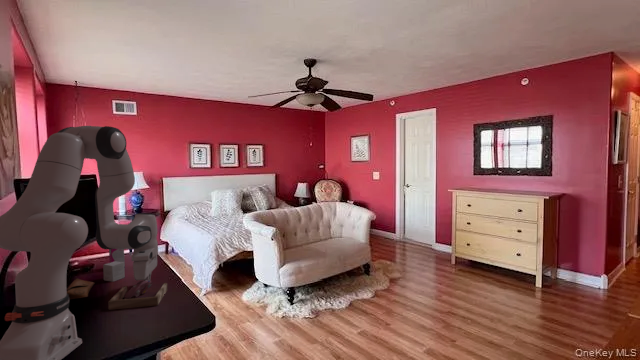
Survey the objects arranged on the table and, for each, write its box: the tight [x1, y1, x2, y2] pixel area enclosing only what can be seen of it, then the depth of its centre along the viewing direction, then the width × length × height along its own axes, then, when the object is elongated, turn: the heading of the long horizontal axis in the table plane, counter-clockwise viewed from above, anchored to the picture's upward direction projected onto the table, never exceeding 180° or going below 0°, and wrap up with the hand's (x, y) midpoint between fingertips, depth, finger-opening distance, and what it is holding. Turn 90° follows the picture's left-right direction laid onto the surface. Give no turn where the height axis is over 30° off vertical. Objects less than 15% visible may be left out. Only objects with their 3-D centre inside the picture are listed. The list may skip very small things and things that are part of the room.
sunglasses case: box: [67, 277, 96, 301], centre depth 137 cm, size 18×7×7 cm, turn 27°
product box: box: [102, 261, 125, 282], centre depth 152 cm, size 6×6×7 cm
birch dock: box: [107, 282, 168, 311], centre depth 129 cm, size 16×16×3 cm
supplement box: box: [108, 249, 126, 269], centre depth 168 cm, size 6×6×12 cm
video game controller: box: [123, 280, 153, 299], centre depth 132 cm, size 10×5×7 cm, turn 166°
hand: (147, 283), depth 138 cm, fingers closed
